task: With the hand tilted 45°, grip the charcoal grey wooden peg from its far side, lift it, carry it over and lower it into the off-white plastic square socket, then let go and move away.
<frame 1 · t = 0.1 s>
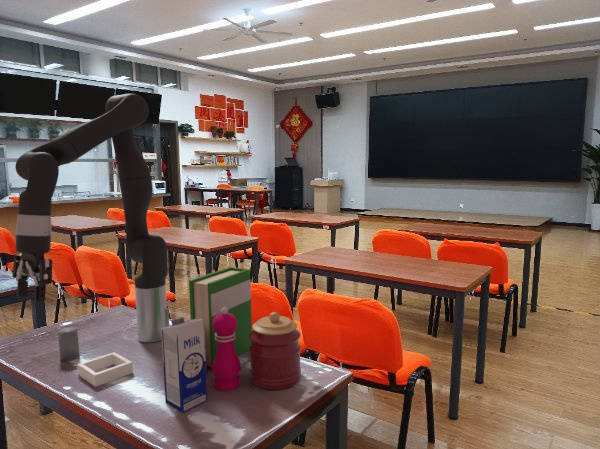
hand: (30, 298, 112), 22 cm above the table, tool pointing down, fingers open, 8 cm apart
hardback book: (224, 356, 130), on the table
canister: (275, 379, 116), on the table
peg: (70, 356, 131), on the table
socket: (105, 373, 120), on the table
pepper mill: (227, 385, 113), on the table
milk carton: (186, 402, 105), on the table
ink cartridge box: (188, 376, 118), on the table
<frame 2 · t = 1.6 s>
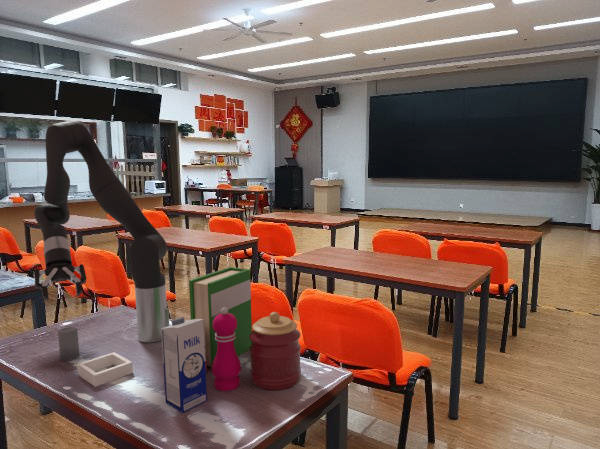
hand: (63, 296, 139), 15 cm above the table, tool tilted 45°, fingers open, 8 cm apart
nothing on the table moved.
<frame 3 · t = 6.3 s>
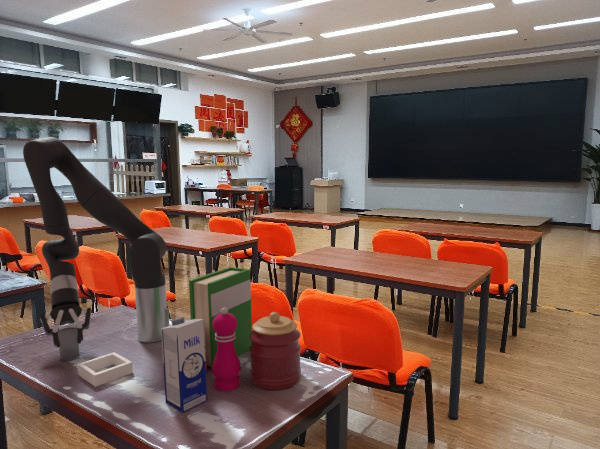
hand: (68, 344, 130), 4 cm above the table, tool tilted 45°, fingers closed on peg, 5 cm apart
peg: (69, 356, 131), on the table, touching gripper
everything else where it was.
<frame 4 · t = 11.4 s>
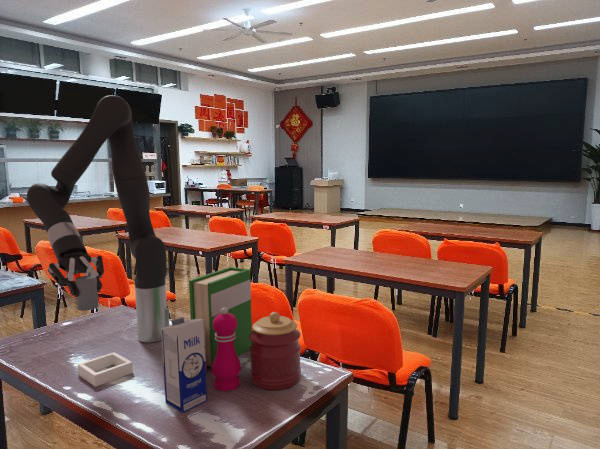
hand: (88, 292, 118), 22 cm above the table, tool tilted 45°, fingers closed on peg, 5 cm apart
peg: (88, 307, 119), point 18 cm above the table, touching gripper
everything else where it was.
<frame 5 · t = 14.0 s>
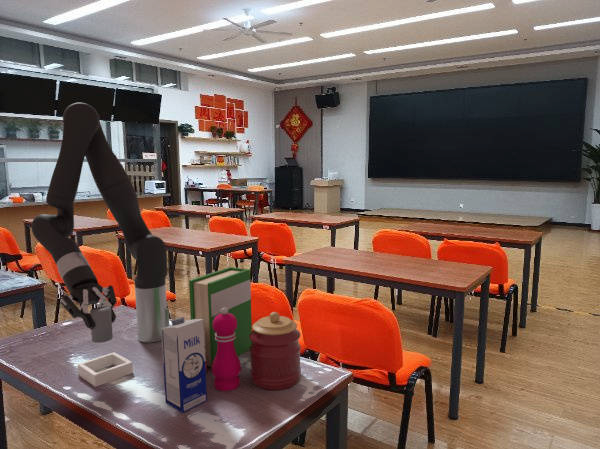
hand: (103, 324, 118), 14 cm above the table, tool tilted 45°, fingers closed on peg, 5 cm apart
peg: (102, 339, 119), point 10 cm above the table, touching gripper
everything else where it was.
when the fingers open (6 cm above the table, at t = 16.4 s): peg drops 1 cm, resting in socket.
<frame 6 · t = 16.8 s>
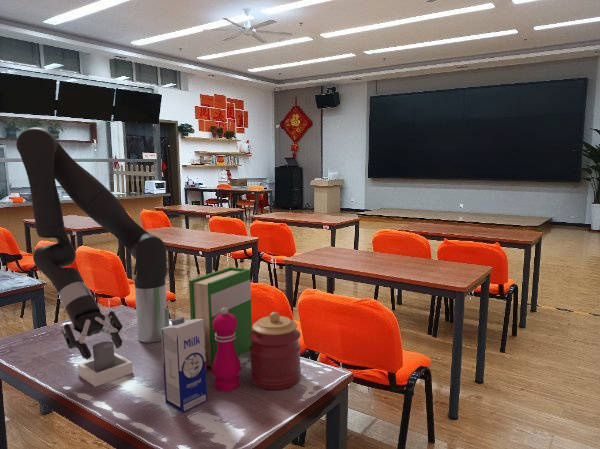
hand: (104, 352, 119), 6 cm above the table, tool tilted 45°, fingers open, 8 cm apart
peg: (105, 374, 120), resting in socket
everything else where it was.
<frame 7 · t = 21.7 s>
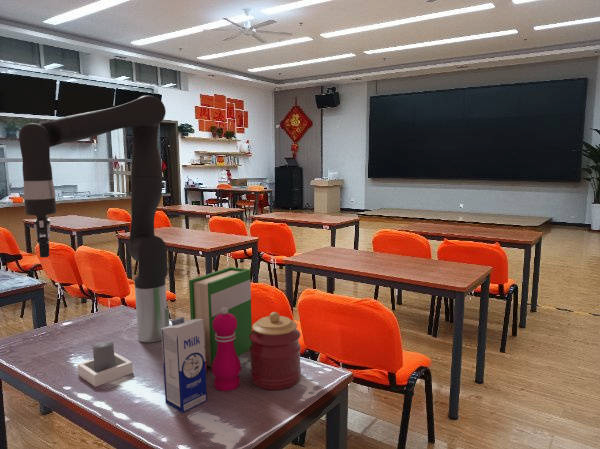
hand: (45, 254, 128), 30 cm above the table, tool pointing down, fingers open, 8 cm apart
nothing on the table moved.
at the end: peg 0.1 cm off-centre on the socket, point 0.0 cm above the socket's base; peg tilted 1°; the gripper is holding nothing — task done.
